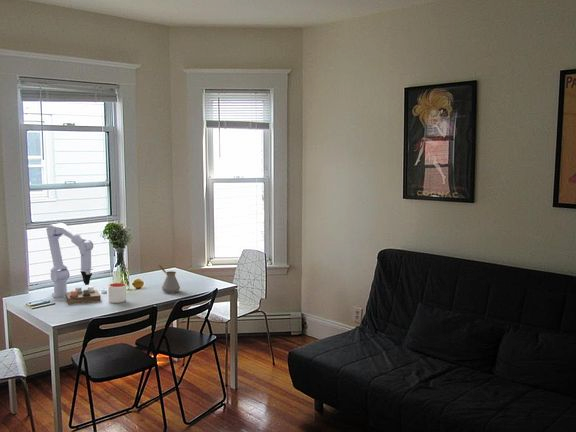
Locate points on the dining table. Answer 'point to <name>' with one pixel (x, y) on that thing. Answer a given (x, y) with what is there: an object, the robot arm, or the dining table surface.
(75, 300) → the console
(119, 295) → the cup
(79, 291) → the key grey
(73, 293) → the key terracotta
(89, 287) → the key ivory
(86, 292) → the key black
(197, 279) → the dining table surface
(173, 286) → the coffee pot
